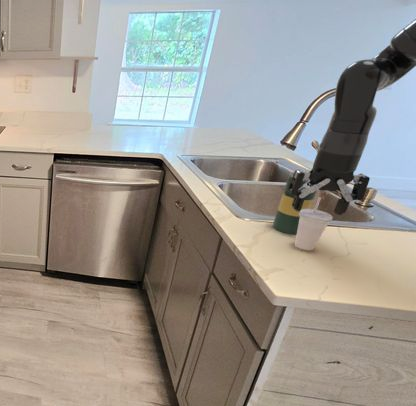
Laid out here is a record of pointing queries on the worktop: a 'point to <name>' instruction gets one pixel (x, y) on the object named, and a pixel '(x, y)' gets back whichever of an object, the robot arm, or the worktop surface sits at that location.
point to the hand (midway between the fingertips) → (316, 212)
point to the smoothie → (311, 227)
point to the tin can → (291, 210)
